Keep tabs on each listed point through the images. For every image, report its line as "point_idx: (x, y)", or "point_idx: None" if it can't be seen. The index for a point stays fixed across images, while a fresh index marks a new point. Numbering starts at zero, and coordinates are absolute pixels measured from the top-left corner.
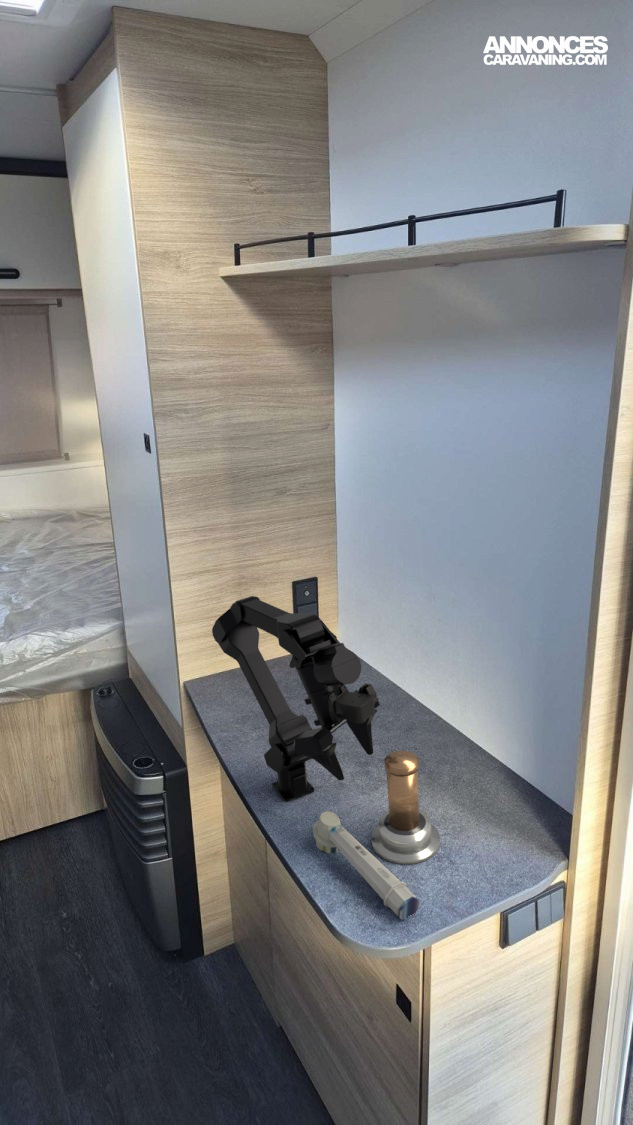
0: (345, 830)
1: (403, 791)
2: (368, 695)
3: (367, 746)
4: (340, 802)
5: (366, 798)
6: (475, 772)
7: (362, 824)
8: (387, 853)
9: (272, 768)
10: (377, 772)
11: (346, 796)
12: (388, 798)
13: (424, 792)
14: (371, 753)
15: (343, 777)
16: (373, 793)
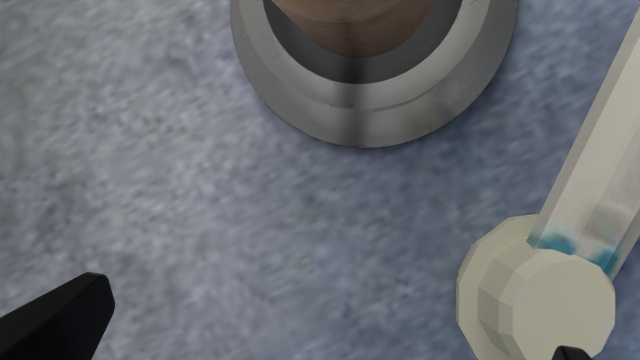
0: (570, 207)
1: None
2: None
3: (60, 343)
4: (263, 351)
5: (197, 270)
6: None
7: (346, 213)
8: (494, 23)
9: None
10: None
11: (220, 346)
12: (408, 2)
13: (68, 81)
14: (102, 282)
15: (574, 355)
16: (159, 258)
